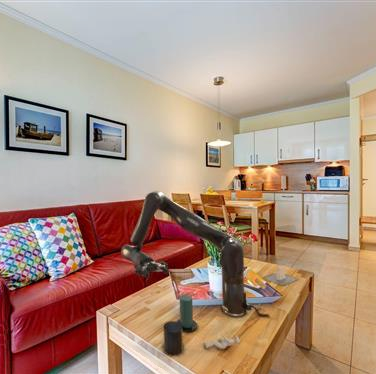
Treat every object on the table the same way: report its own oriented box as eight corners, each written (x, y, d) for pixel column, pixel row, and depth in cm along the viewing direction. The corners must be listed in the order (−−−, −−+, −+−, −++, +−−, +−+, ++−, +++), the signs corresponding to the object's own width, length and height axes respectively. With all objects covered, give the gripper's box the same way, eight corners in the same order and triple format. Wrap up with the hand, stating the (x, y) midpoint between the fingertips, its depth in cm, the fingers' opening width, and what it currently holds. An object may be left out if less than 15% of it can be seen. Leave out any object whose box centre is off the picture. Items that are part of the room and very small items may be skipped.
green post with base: (193, 319, 102) (192, 292, 101) (199, 331, 93) (198, 302, 93) (174, 320, 101) (173, 293, 101) (179, 333, 93) (178, 303, 92)
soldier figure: (203, 343, 88) (231, 330, 89) (210, 358, 85) (239, 344, 86) (204, 339, 82) (234, 326, 83) (211, 355, 79) (242, 341, 80)
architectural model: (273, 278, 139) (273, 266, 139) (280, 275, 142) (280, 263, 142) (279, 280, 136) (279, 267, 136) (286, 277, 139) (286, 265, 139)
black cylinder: (180, 341, 88) (179, 320, 88) (184, 354, 82) (184, 331, 81) (163, 342, 88) (162, 321, 88) (166, 355, 81) (165, 333, 81)
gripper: (128, 256, 107) (141, 268, 92) (156, 251, 112) (173, 262, 97) (129, 272, 107) (142, 286, 92) (156, 267, 112) (174, 279, 97)
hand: (158, 274), depth 94 cm, fingers open, 8 cm apart
